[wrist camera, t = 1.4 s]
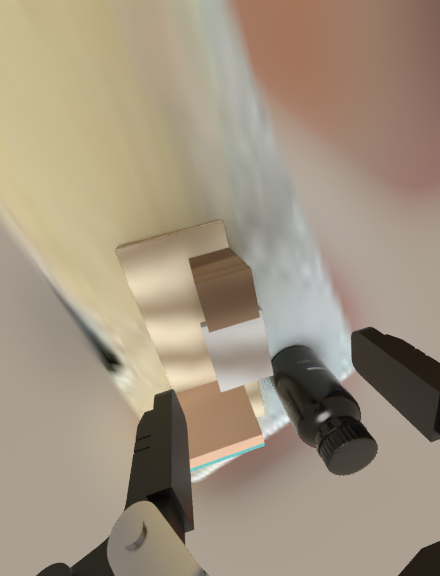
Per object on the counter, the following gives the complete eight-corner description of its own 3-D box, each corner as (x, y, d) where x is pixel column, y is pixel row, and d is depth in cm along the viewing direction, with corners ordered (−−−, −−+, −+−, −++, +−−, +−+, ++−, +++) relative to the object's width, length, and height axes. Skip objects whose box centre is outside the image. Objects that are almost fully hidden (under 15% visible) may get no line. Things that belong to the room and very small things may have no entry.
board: (117, 247, 22) (114, 250, 21) (220, 220, 23) (223, 221, 22) (192, 431, 32) (193, 439, 31) (262, 407, 33) (265, 414, 32)
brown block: (183, 260, 23) (187, 286, 16) (233, 246, 23) (257, 266, 17) (210, 351, 27) (223, 401, 21) (253, 338, 27) (277, 383, 21)
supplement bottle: (310, 336, 30) (388, 416, 19) (319, 374, 33) (392, 463, 22) (260, 357, 30) (311, 451, 19) (274, 394, 33) (325, 494, 22)
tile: (174, 393, 28) (175, 464, 21) (239, 373, 29) (262, 434, 21) (178, 403, 29) (180, 475, 21) (241, 382, 29) (264, 445, 22)
